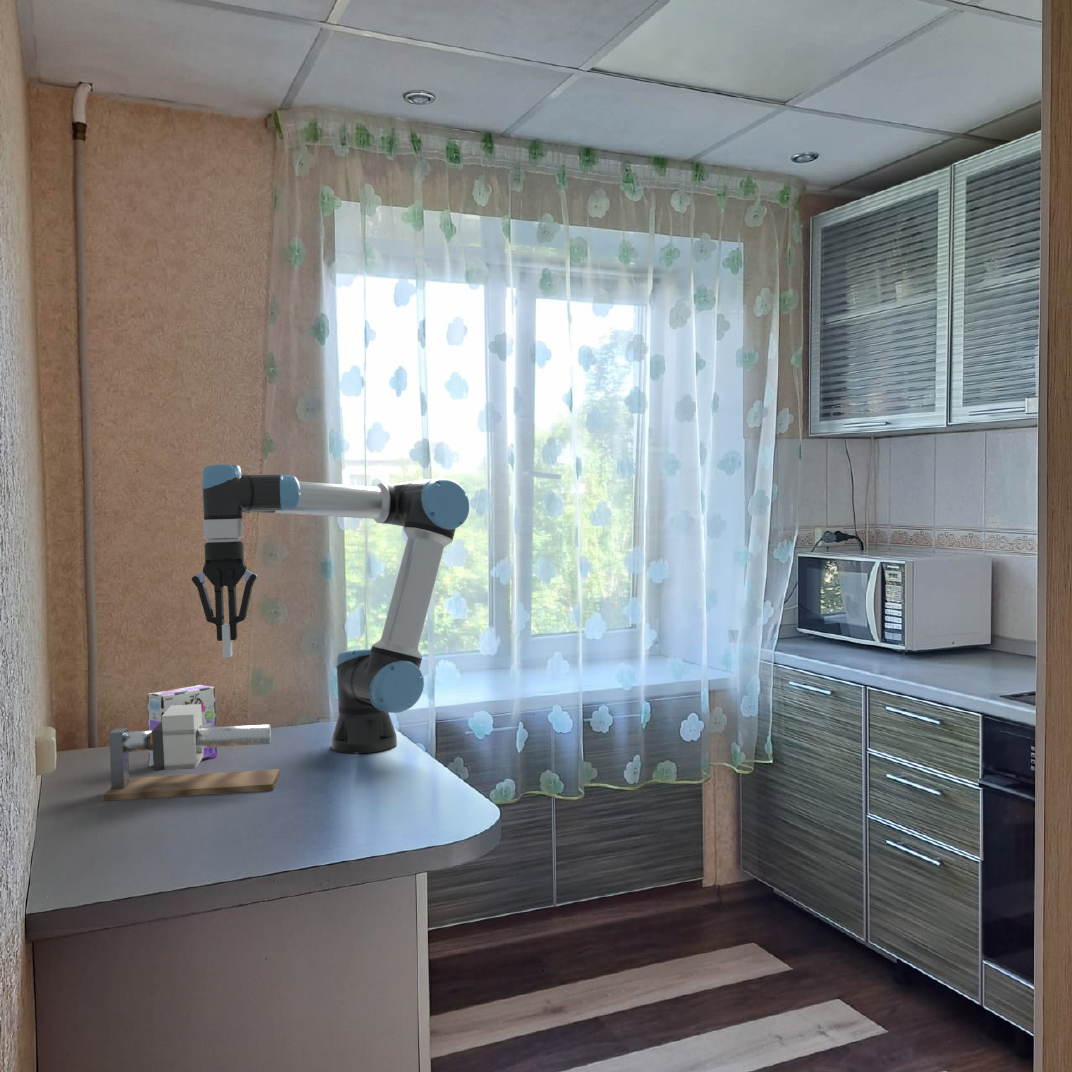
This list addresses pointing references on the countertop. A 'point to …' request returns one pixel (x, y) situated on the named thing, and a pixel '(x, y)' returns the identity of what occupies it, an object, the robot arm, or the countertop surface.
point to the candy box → (183, 696)
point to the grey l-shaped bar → (205, 738)
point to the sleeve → (181, 736)
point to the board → (195, 784)
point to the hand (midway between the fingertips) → (227, 656)
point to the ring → (158, 747)
